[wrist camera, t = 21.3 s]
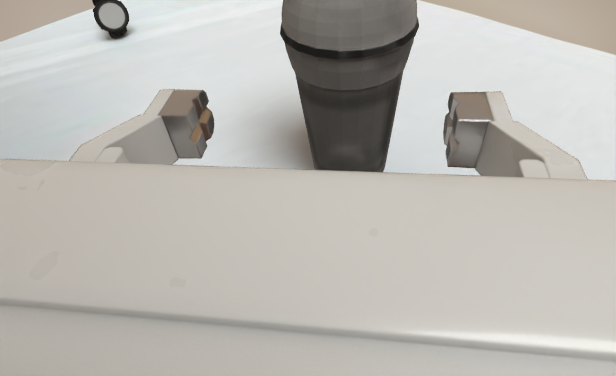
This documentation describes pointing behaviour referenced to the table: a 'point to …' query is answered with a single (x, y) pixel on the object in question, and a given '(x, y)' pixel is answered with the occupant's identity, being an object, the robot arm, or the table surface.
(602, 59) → the table surface
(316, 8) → the beverage cup
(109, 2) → the smartwatch
